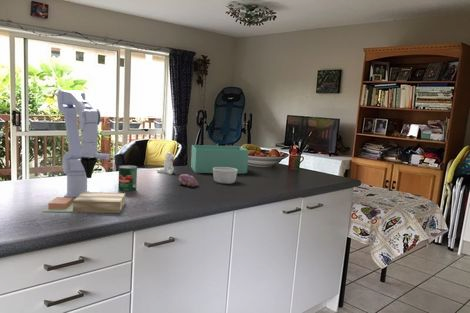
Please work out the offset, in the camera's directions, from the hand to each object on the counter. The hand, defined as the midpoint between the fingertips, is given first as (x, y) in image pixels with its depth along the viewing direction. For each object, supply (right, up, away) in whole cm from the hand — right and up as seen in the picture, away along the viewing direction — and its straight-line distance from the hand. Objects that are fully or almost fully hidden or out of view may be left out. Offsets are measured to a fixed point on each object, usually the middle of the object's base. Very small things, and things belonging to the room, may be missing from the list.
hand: (89, 177), depth 146 cm
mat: (-8, -10, -3) cm, 14 cm away
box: (+44, -1, +97) cm, 107 cm away
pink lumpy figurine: (+32, -7, +47) cm, 57 cm away
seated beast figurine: (+16, -2, +78) cm, 79 cm away
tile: (-9, -8, -4) cm, 13 cm away
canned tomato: (+7, -8, +27) cm, 29 cm away
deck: (+5, -11, -1) cm, 12 cm away
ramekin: (+49, -6, +62) cm, 79 cm away
